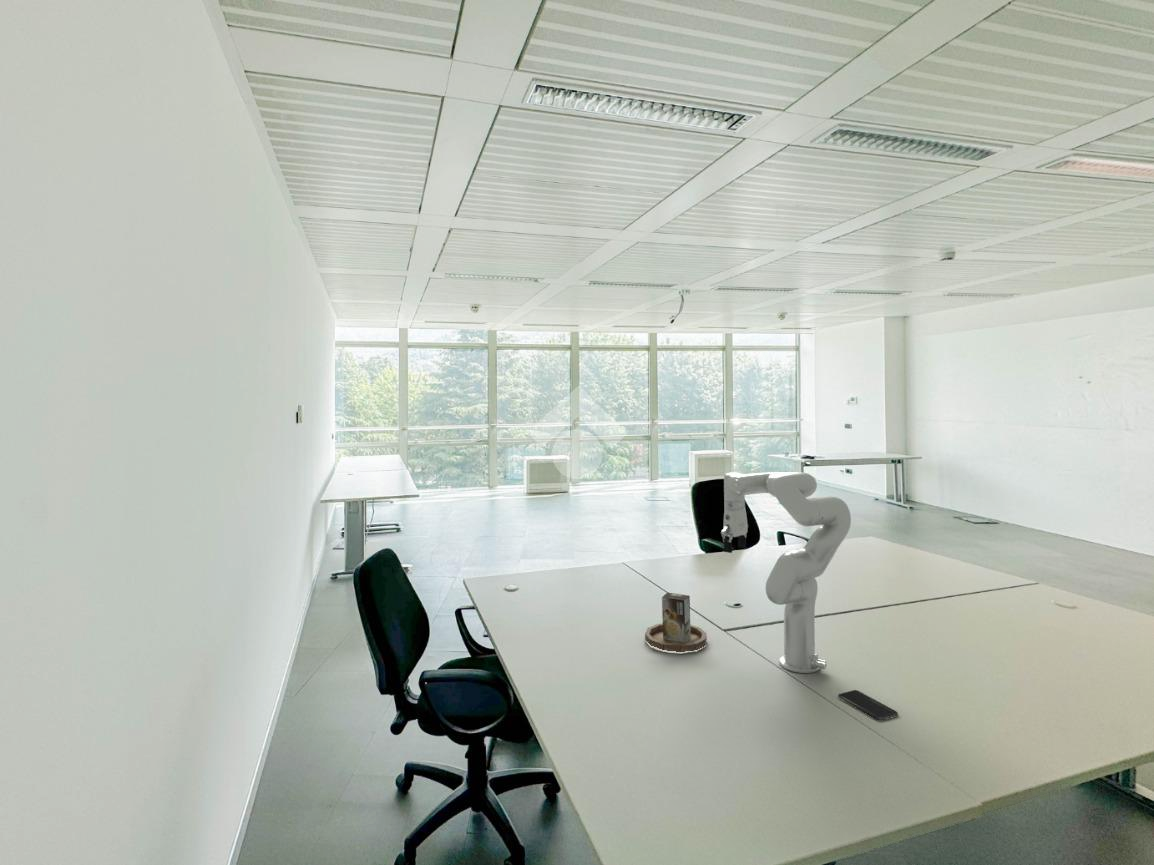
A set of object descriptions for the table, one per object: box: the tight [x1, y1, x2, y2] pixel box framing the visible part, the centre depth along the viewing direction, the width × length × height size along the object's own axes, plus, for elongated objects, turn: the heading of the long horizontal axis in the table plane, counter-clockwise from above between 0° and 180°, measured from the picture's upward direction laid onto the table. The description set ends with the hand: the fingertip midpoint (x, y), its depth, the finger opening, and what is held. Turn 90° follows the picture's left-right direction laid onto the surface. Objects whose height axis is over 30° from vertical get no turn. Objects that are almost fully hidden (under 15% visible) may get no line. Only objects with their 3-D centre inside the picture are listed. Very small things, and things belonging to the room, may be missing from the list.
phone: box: [837, 689, 899, 721], centre depth 168 cm, size 8×1×15 cm
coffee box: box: [661, 592, 691, 643], centre depth 217 cm, size 9×6×16 cm
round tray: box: [644, 622, 707, 652], centre depth 218 cm, size 22×22×3 cm
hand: (735, 549), depth 223 cm, fingers open, 9 cm apart
